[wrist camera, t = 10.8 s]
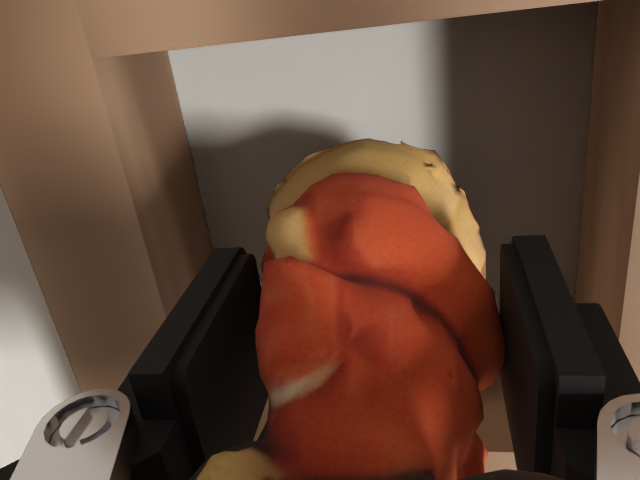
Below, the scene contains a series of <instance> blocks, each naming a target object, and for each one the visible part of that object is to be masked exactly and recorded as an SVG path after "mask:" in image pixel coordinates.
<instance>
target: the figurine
mask: <svg viewBox="0 0 640 480" xmlns="http://www.w3.org/2000/svg"><path fill="white" fill-rule="evenodd" d="M267 212H268V218H269V222H268V225H267V231H266V237H265V238H266V240H267V242H268V244H267V247H266V250H265V254H264V257H263V261H262V264H261V265H262V273H263V277H262V288H261V298H260V311H259V319H258V323H257V326H256V329H255V335H256V351H257V358H258V365H259V374H260V377H261V379H262V381H263V383H264V385H265V387H266V389H267V391H268V398H269V409H268V416H267V422H266V424H265V426H264V428H263V430H262V432H261V434H260V436H259V438H258V440H257V441H253V442H249V443H245V444H242V445H238V446H234V447H231V448H228V449H226V450H224V451H222V452H220V453H218V454H215V455H212V456H211V457H209V458H208V459H207V460H206V461H205V462H204V463H203V464H202V465H201V466H200V467H199V468H198V470H197V471H196V472H195V473H194V475H193V476H192V477H191V478H190V479H189V480H564V479H561V478H557V477H554V476H550V475H547V474H544V473H536V472H527V471H518V470H510V469H502V470H497V471H492V472H487V473H485V467H484V466H485V463H486V459H487V455H488V452H487V450H486V447H485V445H484V443H483V441H482V439H481V438H480V437H479V435H478V434H477V433H476V430H477V429H478V427H479V425H480V424H481V422H482V420H483V419H484V411H483V402H482V398H481V395H480V392H479V391H481V390H484V389H485V388H487V387H488V386H489V385H490V384H492V382H493V380H494V379H495V377H496V376H497V374H498V372H499V371H500V370H501V368H502V366H503V363H504V357H505V345H504V333H503V328H502V324H501V321H500V316H499V313H498V310H497V306H496V301H495V293H494V291H493V289H492V288H491V287H490V285H489V284H488V283H487V281H486V251H485V247H484V244H483V242H482V239H481V236H480V233H479V225H478V224H477V222H476V221H475V219H474V217H473V215H472V213H471V211H470V209H469V205H468V201H467V198H466V195H465V191H463V190H462V189H461V188H460V187H459V186H457V185H456V183H455V182H454V180H453V179H452V176H451V174H450V171H449V170H448V168H447V166H446V165H445V163H444V162H443V161H442V160H441V158H440V157H439V156H438V154H437V153H436V151H434V150H426V149H419V148H416V147H413V146H410V145H407V144H405V143H404V142H402V141H401V143H400V144H392V143H388V142H385V141H378V140H373V139H369V138H368V139H362V140H355V141H351V142H347V143H343V144H340V145H337V146H334V147H331V148H328V149H325V150H322V151H319V152H316V153H313V154H311V155H309V156H306V157H305V158H304V159H303V160H302V161H301V162H300V163H299V164H298V165H296V166H295V167H294V168H293V169H292V170H291V171H290V172H289V174H288V175H287V176H286V178H285V179H284V180H283V181H282V182H280V183H278V184H277V185H276V187H275V190H274V192H273V194H272V197H271V199H270V201H269V203H268V205H267Z"/></svg>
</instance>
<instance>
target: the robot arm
mask: <svg viewBox="0 0 640 480" xmlns="http://www.w3.org/2000/svg"><path fill="white" fill-rule="evenodd" d="M260 298H261V285H260V279H259V274H258V269H257V264H256V260H255V257H254V255H253V254H246V251H245V249H244V248H243V247H239V248H215V249H214V250H213V252H212V253H211V254H210V256H209V257H208V259H207V260H206V262H205V263H204V264H203V266H202V267H201V269H200V270H199V272H198V273H197V275H196V276H195V277H194V279H193V280H192V282H191V283H190V285H189V286H188V287H187V289H186V290H185V292H184V293H183V295H182V296H181V298H180V299H179V300H178V302H177V303H176V305H175V306H174V308H173V309H172V310H171V312H170V313H169V315H168V316H167V318H166V319H165V321H164V322H163V323H162V325H161V326H160V328H159V329H158V331H157V332H156V333H155V335H154V336H153V338H152V339H151V341H150V342H149V344H148V345H147V346H146V348H145V349H144V351H143V352H142V354H141V355H140V356H139V358H138V359H137V361H136V362H135V364H134V365H133V367H132V368H131V369H130V371H129V372H128V374H127V376H126V378H125V379H124V381H123V382H122V384H121V385H120V387H119V388H118V389H117V390H113V389H94V390H90V391H86V392H82V393H79V394H77V395H75V396H73V397H70V398H68V399H66V400H64V401H63V402H61V403H60V404H58V405H56V406H55V407H53V408H52V409H51V410H50V411H49V412H48V413H47V414H46V415H45V416H44V417H43V418H42V419H41V421H40V422H39V423H38V425H37V426H36V428H35V430H34V432H33V434H32V436H31V438H30V440H29V442H28V444H27V446H26V448H25V450H24V452H23V454H22V456H21V458H20V459H19V460H17V461H15V462H13V463H11V464H9V465H7V466H5V467H3V468H1V469H0V480H189V479H190V478H191V477H192V476H193V475H194V473H195V472H196V471H197V470H198V468H199V467H200V466H201V465H202V464H203V463H204V462H205V461H206V460H207V459H208V458H209V457H211V456H212V455H215V454H218V453H220V452H222V451H224V450H226V449H228V448H231V447H234V446H238V445H242V444H245V443H249V442H253V440H254V437H255V434H256V431H257V428H258V425H259V422H260V419H261V417H262V414H263V411H264V408H265V405H266V402H267V399H268V391H267V389H266V387H265V385H264V383H263V381H262V379H261V377H260V374H259V365H258V358H257V351H256V335H255V329H256V326H257V323H258V319H259V311H260ZM500 321H501V324H502V328H503V333H504V345H505V357H504V363H503V366H502V368H501V370H500V380H501V385H502V391H503V396H504V402H505V407H506V413H507V418H508V424H509V429H510V434H511V440H512V445H513V451H514V456H515V462H516V467H517V470H518V471H527V472H536V473H544V474H547V475H550V476H554V477H557V478H561V479H564V480H640V382H639V380H638V378H637V376H636V374H635V372H634V370H633V368H632V366H631V364H630V362H629V360H628V358H627V356H626V354H625V352H624V350H623V348H622V346H621V344H620V342H619V340H618V338H617V336H616V334H615V332H614V330H613V328H612V326H611V324H610V322H609V320H608V318H607V316H606V314H605V312H604V311H603V309H602V307H601V306H600V304H598V303H574V301H573V299H572V296H571V294H570V292H569V289H568V287H567V285H566V282H565V280H564V278H563V276H562V273H561V271H560V269H559V266H558V264H557V262H556V259H555V257H554V255H553V253H552V250H551V248H550V246H549V243H548V241H547V239H546V237H545V235H529V236H513V237H512V243H511V244H501V252H500Z"/></svg>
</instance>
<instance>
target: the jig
mask: <svg viewBox="0 0 640 480" xmlns="http://www.w3.org/2000/svg"><path fill="white" fill-rule="evenodd" d="M592 1H599V4H598V17H597V29H596V41H595V54H594V66H593V79H592V91H591V104H590V116H589V129H588V141H587V154H586V166H585V178H584V191H583V203H582V216H581V228H580V241H579V253H578V266H577V278H576V290H575V303H598V304H600V306H601V307H602V309H603V311H604V312H605V314H606V316H607V318H608V320H609V322H610V324H611V326H612V328H613V330H614V332H615V334H616V336H617V338H618V340H619V342H620V344H621V346H622V348H623V350H624V352H625V354H626V356H627V358H628V360H629V362H630V364H631V366H632V368H633V370H634V372H635V374H636V376H637V378H638V380H639V382H640V0H0V185H1V187H2V190H3V193H4V195H5V198H6V200H7V203H8V205H9V208H10V211H11V213H12V216H13V218H14V221H15V223H16V226H17V229H18V231H19V234H20V236H21V239H22V241H23V244H24V246H25V249H26V252H27V254H28V257H29V259H30V262H31V264H32V267H33V270H34V272H35V275H36V277H37V280H38V282H39V285H40V288H41V290H42V293H43V295H44V298H45V300H46V303H47V306H48V308H49V311H50V313H51V316H52V318H53V321H54V324H55V326H56V329H57V331H58V334H59V336H60V339H61V342H62V344H63V347H64V349H65V352H66V354H67V357H68V360H69V362H70V365H71V367H72V370H73V372H74V375H75V378H76V380H77V383H78V385H79V388H80V390H81V393H82V392H86V391H90V390H94V389H113V390H117V389H118V388H119V387H120V385H121V384H122V382H123V381H124V379H125V378H126V376H127V374H128V372H129V371H130V369H131V368H132V367H133V365H134V364H135V362H136V361H137V359H138V358H139V356H140V355H141V354H142V352H143V351H144V349H145V348H146V346H147V345H148V344H149V342H150V341H151V339H152V338H153V336H154V335H155V333H156V332H157V331H158V329H159V328H160V326H161V325H162V323H163V322H164V321H165V319H166V318H167V316H168V315H169V313H170V312H171V310H172V309H173V308H174V306H175V305H176V303H177V302H178V300H179V299H180V298H181V296H182V295H183V293H184V292H185V290H186V289H187V287H188V286H189V285H190V283H191V282H192V280H193V279H194V277H195V276H196V275H197V273H198V272H199V270H200V269H201V267H202V266H203V264H204V263H205V262H206V260H207V259H208V257H209V256H210V254H211V253H212V252H213V248H212V244H211V239H210V235H209V231H208V226H207V222H206V218H205V213H204V209H203V205H202V200H201V196H200V192H199V187H198V183H197V179H196V174H195V170H194V165H193V161H192V157H191V152H190V148H189V144H188V139H187V135H186V131H185V126H184V122H183V118H182V113H181V109H180V105H179V100H178V96H177V92H176V87H175V83H174V79H173V74H172V70H171V66H170V61H169V57H168V53H167V50H174V49H183V48H192V47H200V46H209V45H218V44H227V43H235V42H244V41H253V40H261V39H270V38H279V37H288V36H296V35H305V34H314V33H322V32H331V31H340V30H349V29H357V28H366V27H375V26H383V25H392V24H401V23H409V22H418V21H427V20H436V19H444V18H453V17H462V16H470V15H479V14H488V13H497V12H505V11H514V10H523V9H531V8H540V7H549V6H558V5H566V4H575V3H584V2H592ZM479 392H480V395H481V398H482V402H483V411H484V419H483V420H482V422H481V424H480V425H479V427H478V429H477V430H476V433H477V434H478V435H479V437H480V438H481V439H482V441H483V443H484V445H485V447H486V450H487V452H488V455H487V459H486V463H485V466H484V467H485V473H487V472H492V471H497V470H502V469H510V470H517V467H516V462H515V456H514V451H513V445H512V440H511V434H510V429H509V424H508V418H507V413H506V407H505V402H504V396H503V391H502V385H501V380H500V371H499V372H498V374H497V376H496V377H495V379H494V380H493V382H492V384H490V385H489V386H488V387H487V388H485V389H484V390H481V391H479ZM268 409H269V398H268V399H267V402H266V405H265V408H264V411H263V414H262V417H261V419H260V422H259V425H258V428H257V431H256V434H255V437H254V440H253V441H257V440H258V438H259V436H260V434H261V432H262V430H263V428H264V426H265V424H266V422H267V416H268Z"/></svg>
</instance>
